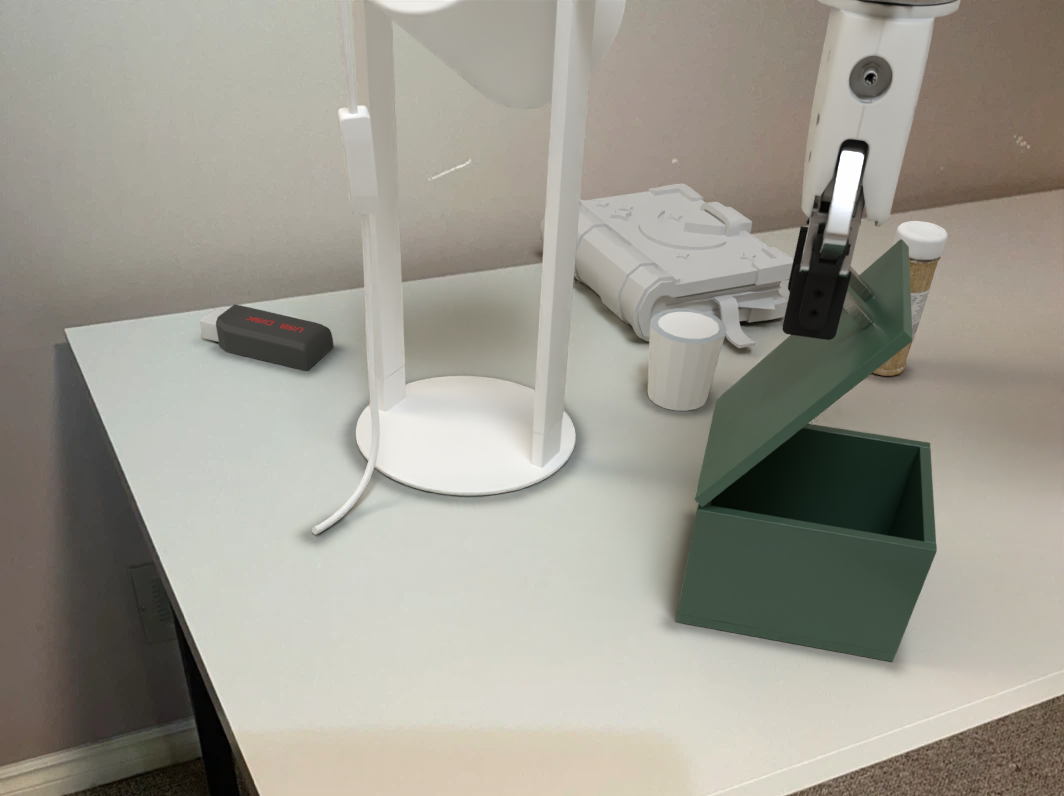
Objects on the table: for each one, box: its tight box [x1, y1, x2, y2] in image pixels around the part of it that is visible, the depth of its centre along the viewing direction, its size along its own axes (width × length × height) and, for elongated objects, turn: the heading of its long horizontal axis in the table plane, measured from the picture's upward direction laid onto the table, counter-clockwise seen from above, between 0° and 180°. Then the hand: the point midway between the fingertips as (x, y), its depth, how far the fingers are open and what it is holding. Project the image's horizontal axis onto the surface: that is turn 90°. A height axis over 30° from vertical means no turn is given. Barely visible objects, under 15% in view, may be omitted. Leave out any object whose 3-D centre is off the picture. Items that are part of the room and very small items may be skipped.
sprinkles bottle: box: [872, 220, 949, 377], centre depth 102 cm, size 5×5×13 cm
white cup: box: [647, 309, 727, 412], centre depth 99 cm, size 7×7×7 cm
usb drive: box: [199, 303, 334, 372], centre depth 103 cm, size 5×12×3 cm, turn 69°
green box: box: [675, 423, 938, 663], centre depth 78 cm, size 16×14×10 cm
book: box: [539, 183, 794, 349], centre depth 113 cm, size 19×28×8 cm
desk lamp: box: [311, 0, 627, 535], centre depth 77 cm, size 21×32×45 cm, turn 150°
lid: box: [694, 239, 914, 507], centre depth 69 cm, size 16×14×5 cm
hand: (810, 311), depth 67 cm, fingers closed on lid, 5 cm apart
